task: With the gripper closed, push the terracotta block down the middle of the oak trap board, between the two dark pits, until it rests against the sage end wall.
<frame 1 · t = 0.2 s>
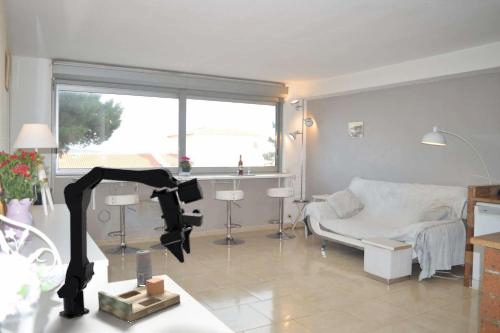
hand: (185, 257, 119), 15 cm above the table, tool pointing down, fingers open, 9 cm apart
block: (155, 292, 128), point 2 cm above the table, touching trap board
energy drink: (145, 284, 143), on the table
trap board: (140, 305, 123), on the table
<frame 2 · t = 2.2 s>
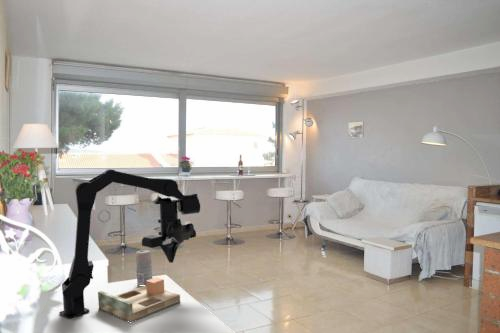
hand: (171, 262, 133), 10 cm above the table, tool pointing down, fingers closed
nothing on the table moved.
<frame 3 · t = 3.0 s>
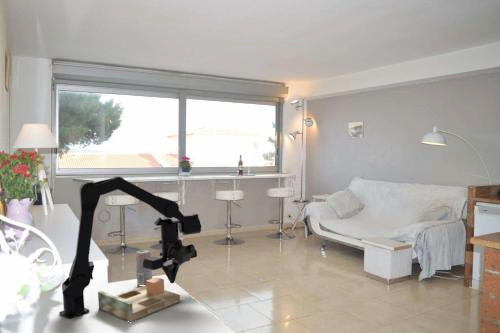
hand: (172, 283, 133), 3 cm above the table, tool pointing down, fingers closed
nothing on the table moved.
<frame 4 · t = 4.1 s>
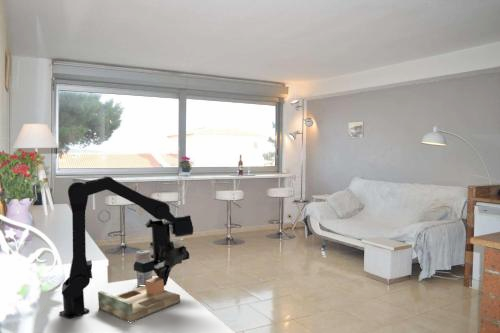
hand: (164, 285, 130), 3 cm above the table, tool pointing down, fingers closed
block: (155, 291, 128), point 2 cm above the table, touching gripper, trap board
everything else where it was.
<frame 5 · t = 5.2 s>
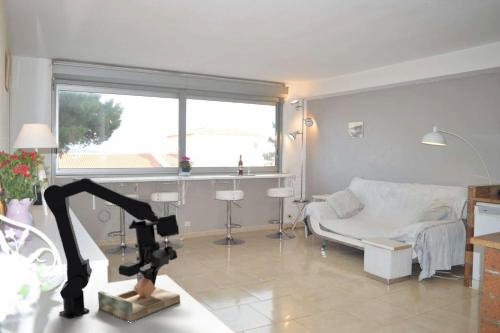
hand: (152, 287, 126), 4 cm above the table, tool pointing down, fingers closed, pressing on block
block: (147, 292, 125), point 3 cm above the table, tilted 31°, touching gripper, trap board
everything else where it was.
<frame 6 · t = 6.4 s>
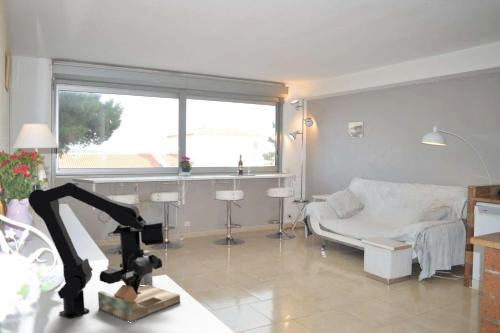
hand: (134, 296, 121), 3 cm above the table, tool pointing down, fingers closed
block: (128, 300, 119), point 3 cm above the table, tilted 29°, touching gripper, trap board
everything else where it was.
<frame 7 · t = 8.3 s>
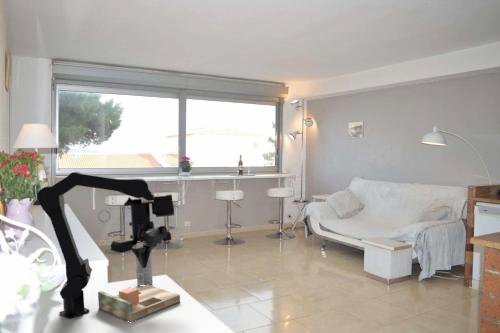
hand: (144, 267, 124), 11 cm above the table, tool pointing down, fingers closed
block: (129, 303, 119), point 2 cm above the table, touching trap board
everything else where it was.
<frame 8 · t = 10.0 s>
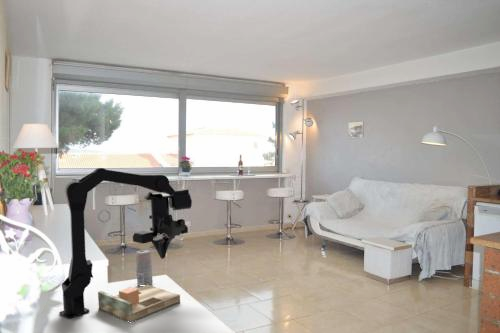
hand: (162, 258, 132), 12 cm above the table, tool pointing down, fingers closed
nothing on the table moved.
at the end: block 1.8 cm from the target spot on the trap board, point 2.4 cm above the trap board's base; block tilted 0°; block moved 10.3 cm from its start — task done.
